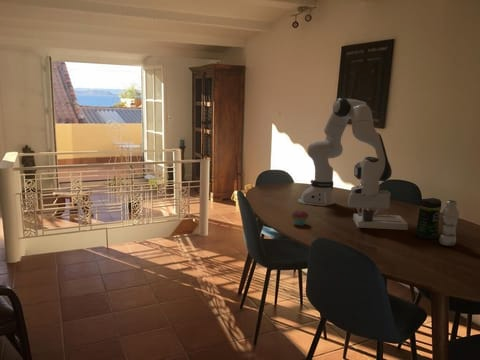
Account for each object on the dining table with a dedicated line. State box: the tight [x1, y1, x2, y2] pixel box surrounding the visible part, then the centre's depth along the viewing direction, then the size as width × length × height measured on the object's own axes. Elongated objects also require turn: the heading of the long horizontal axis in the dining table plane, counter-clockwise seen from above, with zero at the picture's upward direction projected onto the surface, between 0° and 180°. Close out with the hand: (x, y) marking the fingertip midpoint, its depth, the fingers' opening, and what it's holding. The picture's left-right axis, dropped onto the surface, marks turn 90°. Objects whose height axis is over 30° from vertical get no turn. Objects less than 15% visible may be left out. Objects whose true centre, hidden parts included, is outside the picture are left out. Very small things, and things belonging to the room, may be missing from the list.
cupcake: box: [291, 202, 310, 227], centre depth 202 cm, size 9×8×12 cm
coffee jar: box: [415, 197, 442, 240], centre depth 184 cm, size 10×8×19 cm
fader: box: [363, 208, 374, 221], centre depth 201 cm, size 4×5×5 cm
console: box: [352, 213, 409, 231], centre depth 206 cm, size 24×16×3 cm, turn 82°
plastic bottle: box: [438, 199, 460, 247], centre depth 173 cm, size 6×7×20 cm
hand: (367, 216), depth 202 cm, fingers open, 6 cm apart
